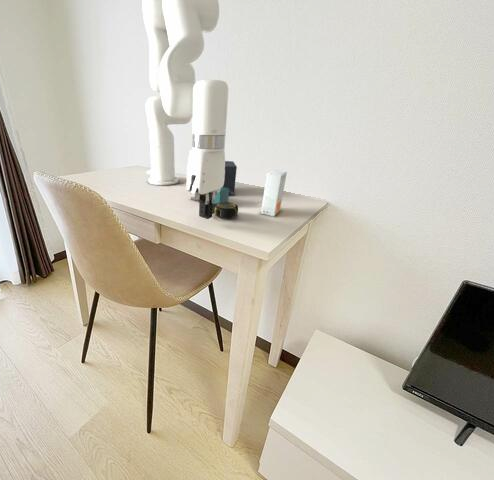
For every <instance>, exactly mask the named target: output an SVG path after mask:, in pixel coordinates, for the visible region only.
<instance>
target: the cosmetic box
mask: <svg viewBox="0 0 494 480" xmlns="http://www.w3.org/2000/svg"><path fill="white" fill-rule="evenodd" d="M287 174H288V172H287V171H283V170H276V169H273V170H272V171H269V172H268V173H266V177H265V185H264V191H263V197H262V202H261V203H262V204H261V210H260V214H261V215H267V216H271V217H275V216H276V215H277V214H278V213H279V212H280V211H281V206H282V201H283V196H284V190H285V185H286V180H287Z"/></svg>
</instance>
